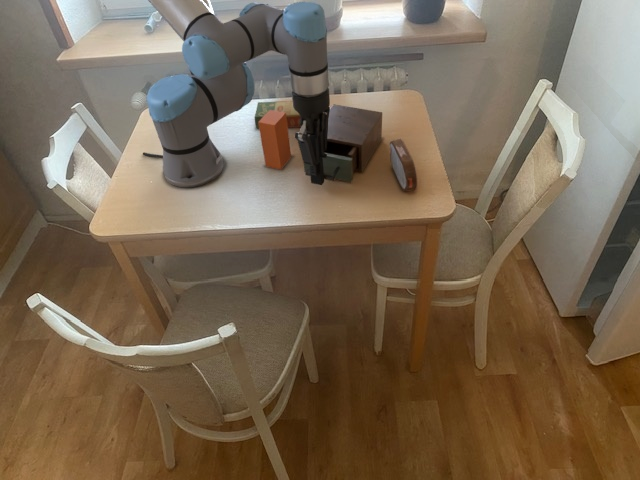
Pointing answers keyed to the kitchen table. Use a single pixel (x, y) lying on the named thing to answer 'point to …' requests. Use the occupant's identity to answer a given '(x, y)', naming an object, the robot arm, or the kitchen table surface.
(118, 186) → the kitchen table surface
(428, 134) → the kitchen table surface
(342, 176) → the drawer
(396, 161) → the tin
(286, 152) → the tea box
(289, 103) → the carton
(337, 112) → the cabinet
